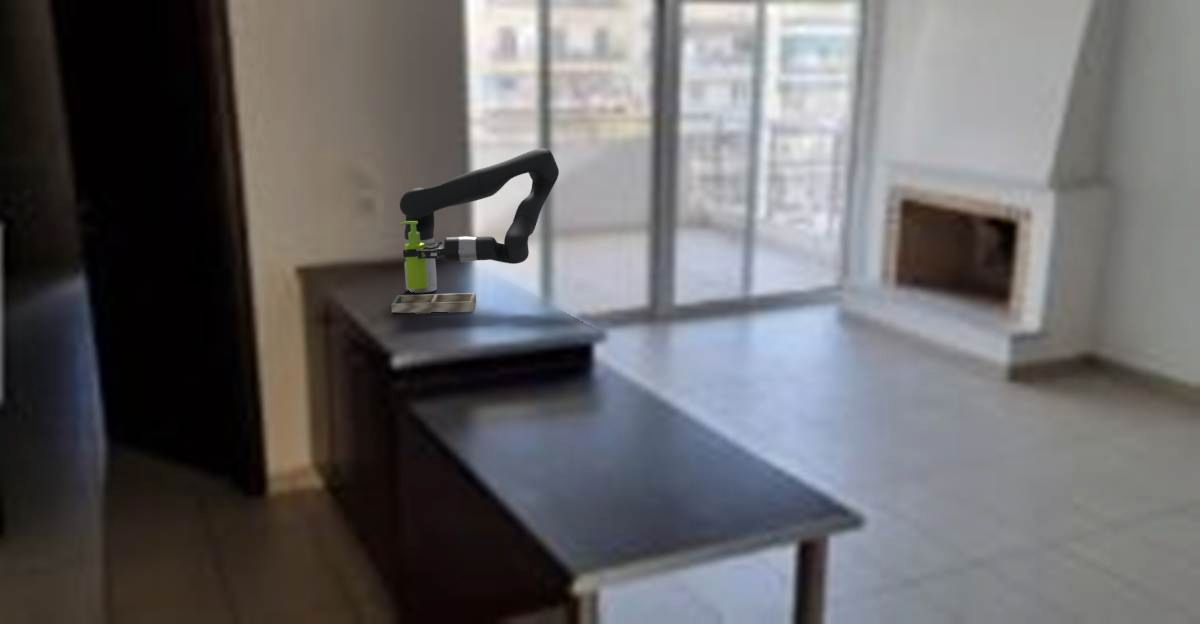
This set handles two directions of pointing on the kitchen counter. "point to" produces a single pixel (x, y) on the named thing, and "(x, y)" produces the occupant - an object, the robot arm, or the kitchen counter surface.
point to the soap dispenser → (415, 260)
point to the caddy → (435, 303)
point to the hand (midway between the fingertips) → (405, 251)
